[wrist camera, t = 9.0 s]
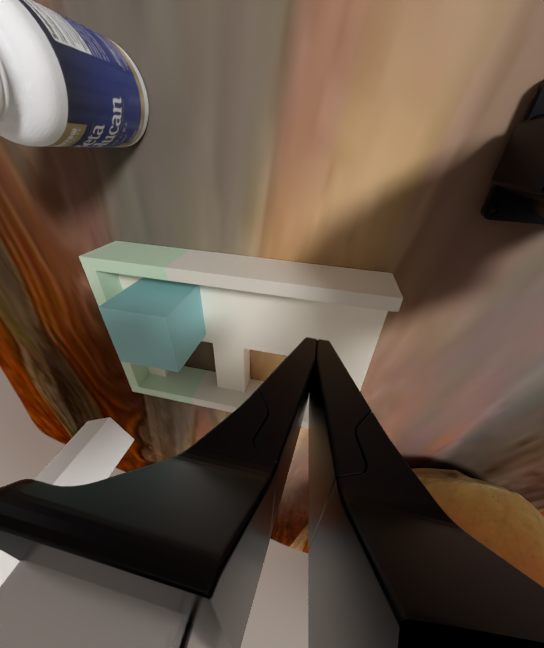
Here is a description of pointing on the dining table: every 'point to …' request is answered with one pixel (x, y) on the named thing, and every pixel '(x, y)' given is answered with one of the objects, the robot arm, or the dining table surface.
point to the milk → (81, 464)
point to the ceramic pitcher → (491, 517)
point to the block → (155, 323)
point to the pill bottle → (65, 82)
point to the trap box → (250, 314)
